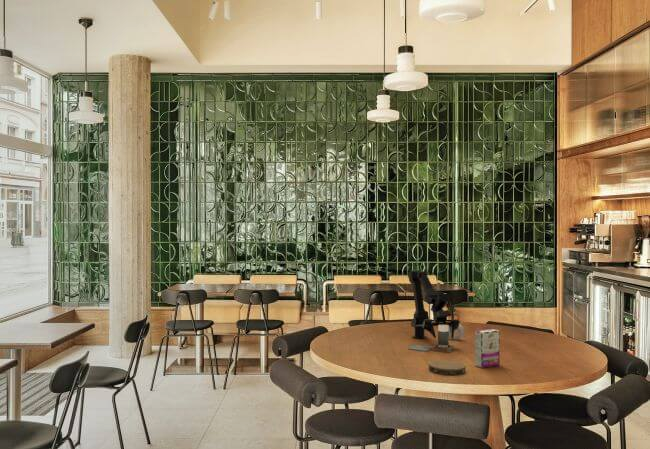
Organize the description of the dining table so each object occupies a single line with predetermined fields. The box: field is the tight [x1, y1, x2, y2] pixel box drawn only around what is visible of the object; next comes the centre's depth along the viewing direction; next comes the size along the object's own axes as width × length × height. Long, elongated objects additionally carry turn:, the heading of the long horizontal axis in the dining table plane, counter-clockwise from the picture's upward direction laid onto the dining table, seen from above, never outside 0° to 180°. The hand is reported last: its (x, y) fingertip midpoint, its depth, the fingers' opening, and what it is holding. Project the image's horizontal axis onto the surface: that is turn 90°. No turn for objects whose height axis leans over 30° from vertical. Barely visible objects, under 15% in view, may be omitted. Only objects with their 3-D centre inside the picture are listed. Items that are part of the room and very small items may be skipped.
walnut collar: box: [431, 343, 455, 354], centre depth 298 cm, size 9×9×2 cm
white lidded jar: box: [437, 324, 450, 348], centre depth 298 cm, size 6×6×13 cm
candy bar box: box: [474, 328, 501, 369], centre depth 265 cm, size 11×5×16 cm, turn 117°
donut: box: [448, 323, 465, 340], centre depth 325 cm, size 10×3×10 cm, turn 64°
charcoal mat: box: [407, 344, 432, 353], centre depth 300 cm, size 10×10×1 cm
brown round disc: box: [428, 359, 466, 376], centre depth 256 cm, size 16×16×3 cm
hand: (444, 337), depth 296 cm, fingers open, 9 cm apart
